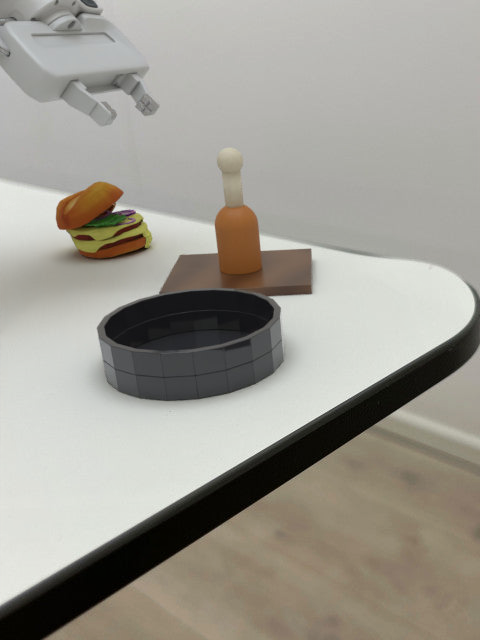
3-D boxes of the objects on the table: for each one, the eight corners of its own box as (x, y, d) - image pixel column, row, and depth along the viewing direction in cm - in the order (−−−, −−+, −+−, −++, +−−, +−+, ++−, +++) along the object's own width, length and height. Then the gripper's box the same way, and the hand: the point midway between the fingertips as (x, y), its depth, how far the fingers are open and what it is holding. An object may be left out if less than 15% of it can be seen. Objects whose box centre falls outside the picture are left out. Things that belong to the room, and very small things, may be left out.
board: (160, 305, 81) (158, 292, 80) (181, 266, 94) (180, 254, 93) (312, 297, 82) (311, 284, 81) (312, 260, 94) (311, 248, 94)
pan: (85, 411, 59) (74, 358, 58) (128, 336, 73) (120, 292, 71) (281, 399, 60) (276, 347, 58) (287, 328, 74) (283, 283, 72)
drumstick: (217, 275, 85) (203, 152, 80) (222, 263, 89) (208, 145, 84) (261, 273, 85) (249, 150, 80) (263, 260, 90) (252, 143, 84)
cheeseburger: (153, 256, 98) (120, 181, 93) (72, 282, 98) (36, 208, 93) (158, 235, 107) (129, 165, 102) (85, 258, 107) (52, 190, 102)
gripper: (-17, -8, 70) (96, 103, 72) (101, -2, 88) (189, 86, 90) (-47, 46, 73) (63, 151, 75) (74, 41, 91) (160, 126, 93)
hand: (133, 116), depth 82 cm, fingers open, 8 cm apart
